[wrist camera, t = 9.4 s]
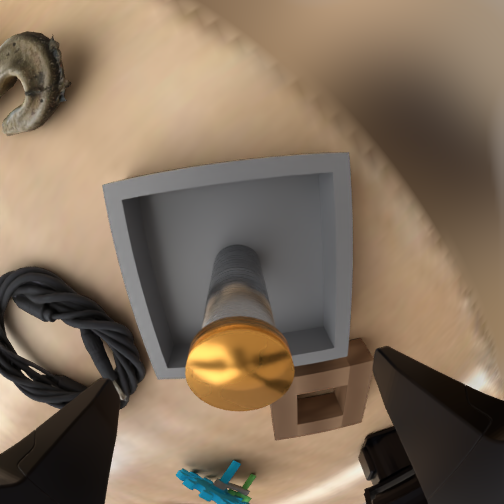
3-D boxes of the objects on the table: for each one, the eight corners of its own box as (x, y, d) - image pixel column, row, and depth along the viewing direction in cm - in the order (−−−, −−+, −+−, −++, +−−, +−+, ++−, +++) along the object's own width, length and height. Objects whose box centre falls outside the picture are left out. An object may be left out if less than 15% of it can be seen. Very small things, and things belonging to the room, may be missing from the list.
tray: (328, 152, 17) (349, 152, 14) (332, 329, 21) (347, 356, 18) (124, 179, 17) (102, 185, 14) (166, 349, 21) (157, 379, 18)
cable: (-11, 328, 20) (-32, 349, 16) (6, 219, 17) (-27, 233, 13) (114, 417, 24) (104, 448, 20) (170, 337, 21) (159, 374, 17)
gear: (158, 467, 25) (211, 514, 18) (185, 431, 28) (244, 470, 21) (215, 489, 30) (268, 523, 22) (237, 458, 33) (292, 487, 26)
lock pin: (263, 236, 18) (294, 327, 8) (267, 290, 19) (294, 405, 10) (204, 242, 18) (174, 337, 8) (212, 295, 19) (197, 413, 9)
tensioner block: (360, 338, 22) (374, 360, 19) (351, 400, 25) (361, 422, 22) (264, 355, 22) (268, 381, 19) (271, 416, 24) (275, 440, 22)
